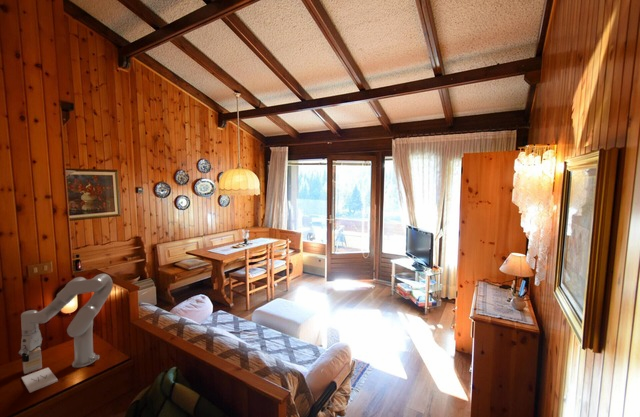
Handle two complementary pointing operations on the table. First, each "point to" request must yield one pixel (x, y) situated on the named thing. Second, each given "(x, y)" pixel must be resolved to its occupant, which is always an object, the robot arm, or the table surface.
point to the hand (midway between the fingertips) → (31, 357)
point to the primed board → (39, 379)
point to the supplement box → (33, 361)
